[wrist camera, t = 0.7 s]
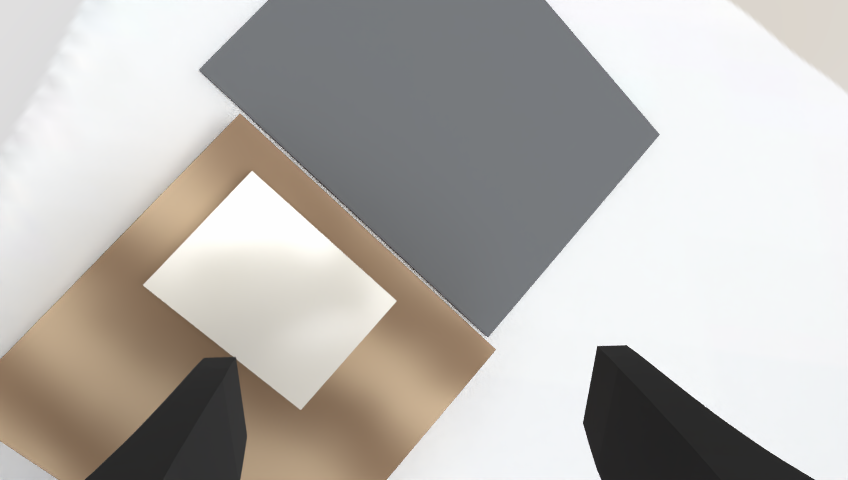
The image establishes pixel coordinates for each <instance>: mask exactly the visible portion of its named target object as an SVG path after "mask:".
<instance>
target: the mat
mask: <svg viewBox="0 0 848 480" xmlns="http://www.w3.org/2000/svg"><path fill="white" fill-rule="evenodd" d="M199 70H200V71H201V72H202V73H203V74H204V75H205V76H206V77H207V78H208V79H209V80H210V81H211V82H212V83H214V84H215V85H216V86H217V87H218V88H219V89H220V90H221V91H222V92H223V93H224V94H225V95H227V96H228V97H229V98H230V99H231V100H232V101H233V102H234V103H235V104H236V105H237V106H238V107H239V108H241V109H242V110H243V111H244V112H245V113H246V114H247V115H248V116H249V117H250V118H251V119H252V120H254V121H255V122H256V123H257V124H258V125H259V126H260V127H261V128H262V129H263V130H264V131H265V132H266V133H268V134H269V135H270V136H271V137H272V138H273V139H274V140H275V141H276V142H277V143H278V144H279V145H281V146H282V147H283V148H284V149H285V150H286V151H287V152H288V153H289V154H290V155H291V156H292V157H293V158H295V159H296V160H297V161H298V162H299V163H300V164H301V165H302V166H303V167H304V168H305V169H306V170H308V171H309V172H310V173H311V174H312V175H313V176H314V177H315V178H316V179H317V180H318V181H319V182H320V183H322V184H323V185H324V186H325V187H326V188H327V189H328V190H329V191H330V192H331V193H332V194H333V195H335V196H336V197H337V198H338V199H339V200H340V201H341V202H342V203H343V204H344V205H345V206H346V207H347V208H349V209H350V210H351V211H352V212H353V213H354V214H355V215H356V216H357V217H358V218H359V219H360V220H362V221H363V222H364V223H365V224H366V225H367V226H368V227H369V228H370V229H371V230H372V231H373V232H374V233H376V234H377V235H378V236H379V237H380V238H381V239H382V240H383V241H384V242H385V243H386V244H387V245H389V246H390V247H391V248H392V249H393V250H394V251H395V252H396V253H397V254H398V255H399V256H400V257H401V258H403V259H404V260H405V261H406V262H407V263H408V264H409V265H410V266H411V267H412V268H413V269H414V270H416V271H417V272H418V273H419V274H420V275H421V276H422V277H423V278H424V279H425V280H426V281H427V282H428V283H430V284H431V285H432V286H433V287H434V288H435V289H436V290H437V291H438V292H439V293H440V294H441V295H443V296H444V297H445V298H446V299H447V300H448V301H449V302H450V303H451V304H452V305H453V306H454V307H455V308H457V309H458V310H459V311H460V312H461V313H462V314H463V315H464V316H465V317H466V318H467V319H468V320H470V321H471V322H472V323H473V324H474V325H475V326H476V327H477V328H478V329H479V330H480V331H481V332H482V333H484V334H485V335H486V336H487V337H489V336H490V334H491V333H492V332H493V331H494V330H495V328H496V327H497V326H498V325H499V324H500V323H501V321H502V320H503V319H504V318H505V317H506V316H507V314H508V313H509V312H510V311H511V310H512V308H513V307H514V306H515V305H516V304H517V303H518V301H519V300H520V299H521V298H522V297H523V295H524V294H525V293H526V292H527V291H528V290H529V288H530V287H531V286H532V285H533V284H534V282H535V281H536V280H537V279H538V278H539V277H540V275H541V274H542V273H543V272H544V271H545V269H546V268H547V267H548V266H549V265H550V264H551V262H552V261H553V260H554V259H555V258H556V256H557V255H558V254H559V253H560V252H561V251H562V249H563V248H564V247H565V246H566V245H567V243H568V242H569V241H570V240H571V239H572V238H573V236H574V235H575V234H576V233H577V232H578V230H579V229H580V228H581V227H582V226H583V225H584V223H585V222H586V221H587V220H588V219H589V217H590V216H591V215H592V214H593V213H594V212H595V210H596V209H597V208H598V207H599V206H600V204H601V203H602V202H603V201H604V200H605V199H606V197H607V196H608V195H609V194H610V193H611V191H612V190H613V189H614V188H615V187H616V186H617V184H618V183H619V182H620V181H621V180H622V178H623V177H624V176H625V175H626V174H627V173H628V171H629V170H630V169H631V168H632V167H633V165H634V164H635V163H636V162H637V161H638V160H639V158H640V157H641V156H642V155H643V154H644V152H645V151H646V150H647V149H648V148H649V147H650V145H651V144H652V143H653V142H654V141H655V139H656V138H657V137H658V136H659V135H660V134H659V133H658V132H657V131H656V130H655V129H654V127H653V126H652V125H651V124H650V123H649V122H648V120H647V119H646V118H645V117H644V116H643V115H642V113H641V112H640V111H639V110H638V109H637V107H636V106H635V105H634V104H633V103H632V102H631V100H630V99H629V98H628V97H627V96H626V95H625V93H624V92H623V91H622V90H621V89H620V88H619V86H618V85H617V84H616V83H615V82H614V80H613V79H612V78H611V77H610V76H609V75H608V73H607V72H606V71H605V70H604V69H603V68H602V66H601V65H600V64H599V63H598V62H597V61H596V59H595V58H594V57H593V56H592V55H591V53H590V52H589V51H588V50H587V49H586V48H585V46H584V45H583V44H582V43H581V42H580V41H579V39H578V38H577V37H576V36H575V35H574V34H573V32H572V31H571V30H570V29H569V28H568V26H567V25H566V24H565V23H564V22H563V21H562V19H561V18H560V17H559V16H558V15H557V14H556V12H555V11H554V10H553V9H552V8H551V7H550V5H549V4H548V3H547V2H546V1H545V0H268V1H267V2H266V3H265V4H264V5H263V6H262V7H261V8H260V9H259V10H258V11H257V12H256V13H255V14H254V15H253V16H252V17H251V18H250V19H249V20H248V21H247V22H246V23H245V24H244V25H243V26H242V27H241V28H240V29H239V30H238V31H237V32H236V33H235V34H234V35H233V36H232V37H231V38H230V39H229V40H228V41H227V42H226V43H225V44H224V45H223V46H222V47H221V48H220V49H219V50H218V51H217V52H216V53H215V54H214V55H213V56H212V57H211V58H210V59H209V60H208V61H207V62H206V63H205V64H204V65H203V66H202V67H201V68H200V69H199Z"/></svg>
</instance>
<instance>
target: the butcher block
mask: <svg viewBox="0 0 848 480" xmlns="http://www.w3.org/2000/svg"><path fill="white" fill-rule="evenodd" d="M251 171H253V172H254V173H255V174H256V175H257V176H258V177H259V178H260V179H262V180H263V181H264V182H265V183H266V184H267V185H268V186H269V187H271V188H272V189H273V190H274V191H275V192H276V193H277V194H278V195H279V196H281V197H282V198H283V199H284V200H285V201H286V202H287V203H288V204H289V205H291V206H292V207H293V208H294V209H295V210H296V211H297V212H298V213H299V214H301V215H302V216H303V217H304V218H305V219H306V220H307V221H308V222H309V223H311V224H312V225H313V226H314V227H315V228H316V229H317V230H318V231H320V232H321V233H322V234H323V235H324V236H325V237H326V238H327V239H328V240H330V241H331V242H332V243H333V244H334V245H335V246H336V247H337V248H338V249H340V250H341V251H342V252H343V253H344V254H345V255H346V256H347V257H348V258H350V259H351V260H352V261H353V262H354V263H355V264H356V265H357V266H358V267H360V268H361V269H362V270H363V271H364V272H365V273H366V274H367V275H368V276H370V277H371V278H372V279H373V280H374V281H375V282H376V283H377V284H379V285H380V286H381V287H382V288H383V289H384V290H385V291H386V292H387V293H389V294H390V295H391V296H392V297H393V298H394V299H395V300H396V303H395V304H394V305H393V306H392V307H391V308H390V309H389V311H388V312H387V313H386V314H385V315H384V316H383V317H382V318H381V320H380V321H379V322H378V323H377V324H376V325H375V326H374V328H373V329H372V330H371V331H370V332H369V333H368V334H367V335H366V337H365V338H364V339H363V340H362V341H361V342H360V343H359V345H358V346H357V347H356V348H355V349H354V350H353V351H352V353H351V354H350V355H349V356H348V357H347V358H346V359H345V360H344V362H343V363H342V364H341V365H340V366H339V367H338V368H337V370H336V371H335V372H334V373H333V374H332V375H331V376H330V378H329V379H328V380H327V381H326V382H325V383H324V384H323V385H322V387H321V388H320V389H319V390H318V391H317V392H316V393H315V395H314V396H313V397H312V398H311V399H310V400H309V401H308V403H307V404H306V405H305V406H304V407H303V408H302V409H301V410H300V409H299V408H297V407H296V406H295V405H294V404H292V403H291V402H290V401H289V400H287V399H286V398H285V397H283V396H282V395H281V394H280V393H278V392H277V391H276V390H275V389H273V388H272V387H271V386H270V385H268V384H267V383H266V382H264V381H263V380H262V379H261V378H259V377H258V376H257V375H256V374H254V373H253V372H252V371H251V370H249V369H248V368H247V367H246V366H244V365H243V364H242V363H240V362H239V361H238V360H237V359H236V360H237V368H238V375H239V382H240V389H241V396H242V403H243V410H244V417H245V424H246V431H247V441H246V448H245V454H244V461H243V467H242V473H241V479H240V480H387V478H388V477H389V476H390V475H391V474H392V473H393V471H394V470H395V469H396V468H397V467H398V465H399V464H400V463H401V462H402V461H403V459H404V458H405V457H406V456H407V455H408V454H409V452H410V451H411V450H412V449H413V448H414V446H415V445H416V444H417V443H418V442H419V440H420V439H421V438H422V437H423V436H424V435H425V433H426V432H427V431H428V430H429V429H430V427H431V426H432V425H433V424H434V423H435V421H436V420H437V419H438V418H439V417H440V416H441V414H442V413H443V412H444V411H445V410H446V408H447V407H448V406H449V405H450V404H451V402H452V401H453V400H454V399H455V398H456V396H457V395H458V394H459V393H460V392H461V391H462V389H463V388H464V387H465V386H466V385H467V383H468V382H469V381H470V380H471V379H472V377H473V376H474V375H475V374H476V373H477V372H478V370H479V369H480V368H481V367H482V366H483V364H484V363H485V362H486V361H487V360H488V358H489V357H490V356H491V355H492V354H493V353H494V351H495V350H496V349H495V348H494V347H493V346H491V345H490V344H489V343H488V342H487V341H486V340H485V339H484V338H483V337H482V336H481V335H480V334H478V333H477V332H476V331H475V330H474V329H473V328H472V327H471V326H470V325H469V324H468V323H467V322H465V321H464V320H463V319H462V318H461V317H460V316H459V315H458V314H457V313H456V312H455V311H454V310H452V309H451V308H450V307H449V306H448V305H447V304H446V303H445V302H444V301H443V300H442V299H441V298H439V297H438V296H437V295H436V294H435V293H434V292H433V291H432V290H431V289H430V288H429V287H428V286H426V285H425V284H424V283H423V282H422V281H421V280H420V279H419V278H418V277H417V276H416V275H415V274H413V273H412V272H411V271H410V270H409V269H408V268H407V267H406V266H405V265H404V264H403V263H402V262H400V261H399V260H398V259H397V258H396V257H395V256H394V255H393V254H392V253H391V252H390V251H389V250H387V249H386V248H385V247H384V246H383V245H382V244H381V243H380V242H379V241H378V240H377V239H376V238H374V237H373V236H372V235H371V234H370V233H369V232H368V231H367V230H366V229H365V228H364V227H363V226H361V225H360V224H359V223H358V222H357V221H356V220H355V219H354V218H353V217H352V216H351V215H350V214H348V213H347V212H346V211H345V210H344V209H343V208H342V207H341V206H340V205H339V204H338V203H337V202H335V201H334V200H333V199H332V198H331V197H330V196H329V195H328V194H327V193H326V192H325V191H324V190H322V189H321V188H320V187H319V186H318V185H317V184H316V183H315V182H314V181H313V180H312V179H311V178H309V177H308V176H307V175H306V174H305V173H304V172H303V171H302V170H301V169H300V168H299V167H298V166H296V165H295V164H294V163H293V162H292V161H291V160H290V159H289V158H288V157H287V156H286V155H285V154H283V153H282V152H281V151H280V150H279V149H278V148H277V147H276V146H275V145H274V144H273V143H272V142H270V141H269V140H268V139H267V138H266V137H265V136H264V135H263V134H262V133H261V132H260V131H259V130H257V129H256V128H255V127H254V126H253V125H252V124H251V123H250V122H249V121H248V120H247V119H246V118H244V117H243V116H242V115H241V114H239V115H238V116H237V117H236V118H235V119H234V120H233V121H232V122H231V123H230V124H229V125H228V126H227V127H226V128H225V129H224V131H223V132H222V133H221V134H220V135H219V136H218V137H217V138H216V139H215V140H214V141H213V142H212V143H211V144H210V145H209V146H208V147H207V148H206V149H205V150H204V151H203V152H202V153H201V154H200V155H199V156H198V157H197V158H196V159H195V160H194V161H193V162H192V163H191V164H190V165H189V166H188V167H187V168H186V170H185V171H184V172H183V173H182V174H181V175H180V176H179V177H178V178H177V179H176V180H175V181H174V182H173V183H172V184H171V185H170V186H169V187H168V188H167V189H166V190H165V191H164V192H163V193H162V194H161V195H160V196H159V197H158V198H157V199H156V200H155V201H154V202H153V203H152V204H151V205H150V206H149V207H148V209H147V210H146V211H145V212H144V213H143V214H142V215H141V216H140V217H139V218H138V219H137V220H136V221H135V222H134V223H133V224H132V225H131V226H130V227H129V228H128V229H127V230H126V231H125V232H124V233H123V234H122V235H121V236H120V237H119V238H118V239H117V240H116V241H115V242H114V243H113V244H112V245H111V246H110V248H109V249H108V250H107V251H106V252H105V253H104V254H103V255H102V256H101V257H100V258H99V259H98V260H97V261H96V262H95V263H94V264H93V265H92V266H91V267H90V268H89V269H88V270H87V271H86V272H85V273H84V274H83V275H82V276H81V277H80V278H79V279H78V280H77V281H76V282H75V283H74V284H73V285H72V287H71V288H70V289H69V290H68V291H67V292H66V293H65V294H64V295H63V296H62V297H61V298H60V299H59V300H58V301H57V302H56V303H55V304H54V305H53V306H52V307H51V308H50V309H49V310H48V311H47V312H46V313H45V314H44V315H43V316H42V317H41V318H40V319H39V320H38V321H37V322H36V323H35V324H34V326H33V327H32V328H31V329H30V330H29V331H28V332H27V333H26V334H25V335H24V336H23V337H22V338H21V339H20V340H19V341H18V342H17V343H16V344H15V345H14V346H13V347H12V348H11V349H10V350H9V351H8V352H7V353H6V354H5V355H4V356H3V357H2V358H1V359H0V441H1V442H2V443H4V444H5V445H7V446H8V447H10V448H11V449H13V450H14V451H16V452H17V453H19V454H20V455H22V456H23V457H25V458H26V459H28V460H29V461H31V462H32V463H34V464H35V465H37V466H39V467H40V468H42V469H43V470H45V471H46V472H48V473H49V474H51V475H52V476H54V477H55V478H57V479H58V480H85V479H86V478H87V477H88V476H89V475H90V474H91V473H92V472H94V471H95V470H96V469H97V468H98V467H99V466H100V465H101V464H102V463H103V462H104V461H105V460H106V459H107V458H108V457H109V456H110V455H111V454H112V453H114V452H115V451H116V450H117V449H118V448H119V447H120V446H121V445H122V444H123V443H124V442H125V441H126V440H127V439H128V438H129V437H130V436H131V435H132V434H133V433H134V432H135V431H136V430H137V429H138V428H139V427H140V426H141V425H142V424H143V423H144V422H145V421H146V420H147V418H148V417H149V416H150V415H151V414H152V413H153V412H154V411H155V410H156V409H157V408H158V407H159V406H160V405H161V404H162V403H163V402H164V400H165V399H166V398H167V397H168V396H169V395H170V394H171V393H172V392H173V391H174V390H175V388H176V387H177V386H178V385H179V384H180V383H181V382H182V381H183V379H184V378H185V377H186V376H187V375H188V374H189V373H190V372H191V371H192V369H193V368H194V367H195V366H196V365H197V364H198V363H199V362H200V361H201V360H202V359H203V358H212V357H233V356H232V355H230V354H229V353H228V352H227V351H225V350H224V349H223V348H221V347H220V346H219V345H218V344H216V343H215V342H214V341H213V340H211V339H210V338H209V337H208V336H206V335H205V334H204V333H203V332H201V331H200V330H199V329H197V328H196V327H195V326H194V325H192V324H191V323H190V322H189V321H187V320H186V319H185V318H184V317H182V316H181V315H180V314H178V313H177V312H176V311H175V310H173V309H172V308H171V307H170V306H168V305H167V304H166V303H165V302H163V301H162V300H161V299H160V298H158V297H157V296H156V295H154V294H153V293H152V292H151V291H149V290H148V289H147V288H146V287H144V286H143V284H144V283H145V282H146V281H147V280H148V279H149V278H150V277H151V276H152V275H153V274H154V273H155V272H156V271H157V270H158V269H159V268H160V267H161V266H162V265H163V264H164V262H165V261H166V260H167V259H168V258H169V257H170V256H171V255H172V254H173V253H174V252H175V251H176V250H177V249H178V248H179V247H180V246H181V245H182V244H183V243H184V242H185V240H186V239H187V238H188V237H189V236H190V235H191V234H192V233H193V232H194V231H195V230H196V229H197V228H198V227H199V226H200V225H201V224H202V223H203V222H204V221H205V220H206V218H207V217H208V216H209V215H210V214H211V213H212V212H213V211H214V210H215V209H216V208H217V207H218V206H219V205H220V204H221V203H222V202H223V201H224V200H225V199H226V198H227V196H228V195H229V194H230V193H231V192H232V191H233V190H234V189H235V188H236V187H237V186H238V185H239V184H240V183H241V182H242V181H243V180H244V179H245V178H246V177H247V176H248V175H249V173H250V172H251Z"/></svg>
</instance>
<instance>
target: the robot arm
mask: <svg viewBox="0 0 848 480" xmlns="http://www.w3.org/2000/svg"><path fill="white" fill-rule="evenodd" d="M583 424H584V428H585V431H586V435H587V438H588V442H589V445H590V449H591V452H592V455H593V458H594V462H595V465H596V468H597V471H598V473H599V475H600V478H601V480H814V479H813V478H811V477H809V476H808V475H806V474H804V473H803V472H801V471H799V470H798V469H796V468H794V467H793V466H791V465H789V464H788V463H786V462H785V461H783V460H781V459H780V458H778V457H777V456H775V455H773V454H772V453H770V452H769V451H767V450H766V449H764V448H763V447H761V446H760V445H758V444H757V443H755V442H754V441H752V440H751V439H750V438H748V437H747V436H745V435H744V434H742V433H741V432H739V431H738V430H737V429H735V428H734V427H732V426H731V425H729V424H728V423H727V422H725V421H724V420H723V419H721V418H720V417H718V416H717V415H716V414H714V413H713V412H712V411H710V410H709V409H708V408H706V407H705V406H704V405H702V404H701V403H700V402H699V401H697V400H696V399H695V398H693V397H692V396H691V395H689V394H688V393H687V392H686V391H684V390H683V389H682V388H681V387H679V386H678V385H677V384H675V383H674V382H673V381H672V380H670V379H669V378H668V377H667V376H665V375H664V374H663V373H662V372H660V371H659V370H658V369H657V368H655V367H654V366H653V365H652V364H650V363H649V362H648V361H647V360H645V359H644V358H643V357H641V356H640V355H639V354H638V353H636V352H635V351H634V350H632V349H631V348H629V347H628V346H627V345H623V346H597V351H596V356H595V362H594V367H593V372H592V378H591V383H590V389H589V394H588V399H587V405H586V410H585V415H584V421H583ZM246 441H247V431H246V424H245V417H244V410H243V403H242V396H241V389H240V382H239V375H238V368H237V360H236V357H212V358H203V359H202V360H201V361H200V362H199V363H198V364H197V365H196V366H195V367H194V368H193V369H192V371H191V372H190V373H189V374H188V375H187V376H186V377H185V378H184V379H183V381H182V382H181V383H180V384H179V385H178V386H177V387H176V388H175V390H174V391H173V392H172V393H171V394H170V395H169V396H168V397H167V398H166V399H165V400H164V402H163V403H162V404H161V405H160V406H159V407H158V408H157V409H156V410H155V411H154V412H153V413H152V414H151V415H150V416H149V417H148V418H147V420H146V421H145V422H144V423H143V424H142V425H141V426H140V427H139V428H138V429H137V430H136V431H135V432H134V433H133V434H132V435H131V436H130V437H129V438H128V439H127V440H126V441H125V442H124V443H123V444H122V445H121V446H120V447H119V448H118V449H117V450H116V451H115V452H114V453H112V454H111V455H110V456H109V457H108V458H107V459H106V460H105V461H104V462H103V463H102V464H101V465H100V466H99V467H98V468H97V469H96V470H95V471H94V472H92V473H91V474H90V475H89V476H88V477H87V478H86V479H85V480H240V479H241V473H242V467H243V461H244V454H245V448H246Z"/></svg>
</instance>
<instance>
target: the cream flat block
mask: <svg viewBox="0 0 848 480" xmlns="http://www.w3.org/2000/svg"><path fill="white" fill-rule="evenodd" d="M143 286H144V287H146V288H147V289H148V290H149V291H151V292H152V293H153V294H154V295H156V296H157V297H158V298H160V299H161V300H162V301H163V302H165V303H166V304H167V305H168V306H170V307H171V308H172V309H173V310H175V311H176V312H177V313H178V314H180V315H181V316H182V317H184V318H185V319H186V320H187V321H189V322H190V323H191V324H192V325H194V326H195V327H196V328H197V329H199V330H200V331H201V332H203V333H204V334H205V335H206V336H208V337H209V338H210V339H211V340H213V341H214V342H215V343H216V344H218V345H219V346H220V347H221V348H223V349H224V350H225V351H227V352H228V353H229V354H230V355H232V356H233V357H236V359H237V360H238V361H239V362H240V363H242V364H243V365H244V366H246V367H247V368H248V369H249V370H251V371H252V372H253V373H254V374H256V375H257V376H258V377H259V378H261V379H262V380H263V381H264V382H266V383H267V384H268V385H270V386H271V387H272V388H273V389H275V390H276V391H277V392H278V393H280V394H281V395H282V396H283V397H285V398H286V399H287V400H289V401H290V402H291V403H292V404H294V405H295V406H296V407H297V408H299V409H300V410H301V409H302V408H303V407H304V406H305V405H306V404H307V403H308V401H309V400H310V399H311V398H312V397H313V396H314V395H315V393H316V392H317V391H318V390H319V389H320V388H321V387H322V385H323V384H324V383H325V382H326V381H327V380H328V379H329V378H330V376H331V375H332V374H333V373H334V372H335V371H336V370H337V368H338V367H339V366H340V365H341V364H342V363H343V362H344V360H345V359H346V358H347V357H348V356H349V355H350V354H351V353H352V351H353V350H354V349H355V348H356V347H357V346H358V345H359V343H360V342H361V341H362V340H363V339H364V338H365V337H366V335H367V334H368V333H369V332H370V331H371V330H372V329H373V328H374V326H375V325H376V324H377V323H378V322H379V321H380V320H381V318H382V317H383V316H384V315H385V314H386V313H387V312H388V311H389V309H390V308H391V307H392V306H393V305H394V304H395V303H396V300H395V299H394V298H393V297H392V296H391V295H390V294H389V293H387V292H386V291H385V290H384V289H383V288H382V287H381V286H380V285H379V284H377V283H376V282H375V281H374V280H373V279H372V278H371V277H370V276H368V275H367V274H366V273H365V272H364V271H363V270H362V269H361V268H360V267H358V266H357V265H356V264H355V263H354V262H353V261H352V260H351V259H350V258H348V257H347V256H346V255H345V254H344V253H343V252H342V251H341V250H340V249H338V248H337V247H336V246H335V245H334V244H333V243H332V242H331V241H330V240H328V239H327V238H326V237H325V236H324V235H323V234H322V233H321V232H320V231H318V230H317V229H316V228H315V227H314V226H313V225H312V224H311V223H309V222H308V221H307V220H306V219H305V218H304V217H303V216H302V215H301V214H299V213H298V212H297V211H296V210H295V209H294V208H293V207H292V206H291V205H289V204H288V203H287V202H286V201H285V200H284V199H283V198H282V197H281V196H279V195H278V194H277V193H276V192H275V191H274V190H273V189H272V188H271V187H269V186H268V185H267V184H266V183H265V182H264V181H263V180H262V179H260V178H259V177H258V176H257V175H256V174H255V173H254V172H253V171H251V172H250V173H249V175H248V176H247V177H246V178H245V179H244V180H243V181H242V182H241V183H240V184H239V185H238V186H237V187H236V188H235V189H234V190H233V191H232V192H231V193H230V194H229V195H228V196H227V198H226V199H225V200H224V201H223V202H222V203H221V204H220V205H219V206H218V207H217V208H216V209H215V210H214V211H213V212H212V213H211V214H210V215H209V216H208V217H207V218H206V220H205V221H204V222H203V223H202V224H201V225H200V226H199V227H198V228H197V229H196V230H195V231H194V232H193V233H192V234H191V235H190V236H189V237H188V238H187V239H186V240H185V242H184V243H183V244H182V245H181V246H180V247H179V248H178V249H177V250H176V251H175V252H174V253H173V254H172V255H171V256H170V257H169V258H168V259H167V260H166V261H165V262H164V264H163V265H162V266H161V267H160V268H159V269H158V270H157V271H156V272H155V273H154V274H153V275H152V276H151V277H150V278H149V279H148V280H147V281H146V282H145V283H144V284H143Z"/></svg>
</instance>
